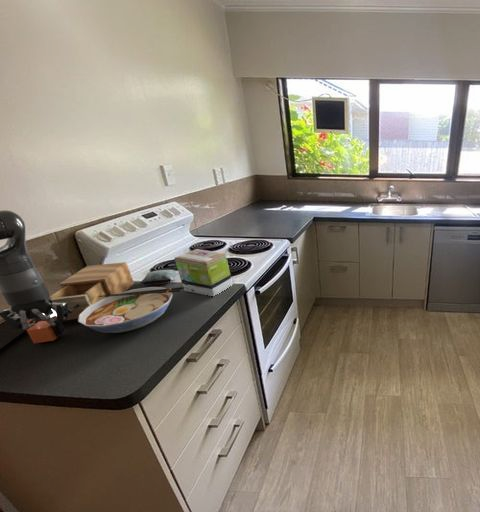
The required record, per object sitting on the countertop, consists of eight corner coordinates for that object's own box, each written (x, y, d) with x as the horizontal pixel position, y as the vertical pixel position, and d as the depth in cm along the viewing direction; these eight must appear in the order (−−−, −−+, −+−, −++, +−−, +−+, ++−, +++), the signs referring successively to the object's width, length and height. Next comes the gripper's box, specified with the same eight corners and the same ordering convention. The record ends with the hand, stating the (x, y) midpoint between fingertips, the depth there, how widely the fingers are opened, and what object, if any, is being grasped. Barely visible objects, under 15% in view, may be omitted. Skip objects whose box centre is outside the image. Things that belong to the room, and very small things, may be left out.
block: (33, 343, 82) (26, 330, 80) (45, 334, 86) (38, 321, 84) (53, 340, 83) (47, 327, 81) (64, 331, 87) (58, 318, 85)
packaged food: (151, 278, 122) (148, 268, 120) (182, 275, 125) (179, 265, 123) (141, 288, 114) (136, 277, 112) (174, 285, 117) (170, 274, 115)
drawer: (86, 323, 91) (76, 302, 88) (39, 330, 88) (27, 308, 85) (116, 295, 107) (109, 276, 104) (78, 300, 104) (70, 281, 101)
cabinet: (114, 302, 105) (104, 278, 101) (70, 307, 101) (59, 283, 97) (134, 283, 118) (126, 262, 115) (96, 287, 115) (87, 265, 111)
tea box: (183, 292, 112) (172, 257, 106) (205, 280, 120) (196, 248, 115) (213, 297, 107) (204, 261, 102) (234, 285, 116) (226, 251, 111)
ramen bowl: (60, 351, 80) (47, 327, 77) (117, 307, 101) (109, 287, 98) (159, 342, 84) (150, 319, 81) (194, 302, 105) (188, 282, 102)
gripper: (64, 275, 83) (87, 325, 90) (-1, 282, 79) (27, 333, 86) (45, 287, 77) (71, 339, 83) (-27, 295, 73) (5, 349, 79)
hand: (48, 336), depth 84 cm, fingers closed on block, 4 cm apart
